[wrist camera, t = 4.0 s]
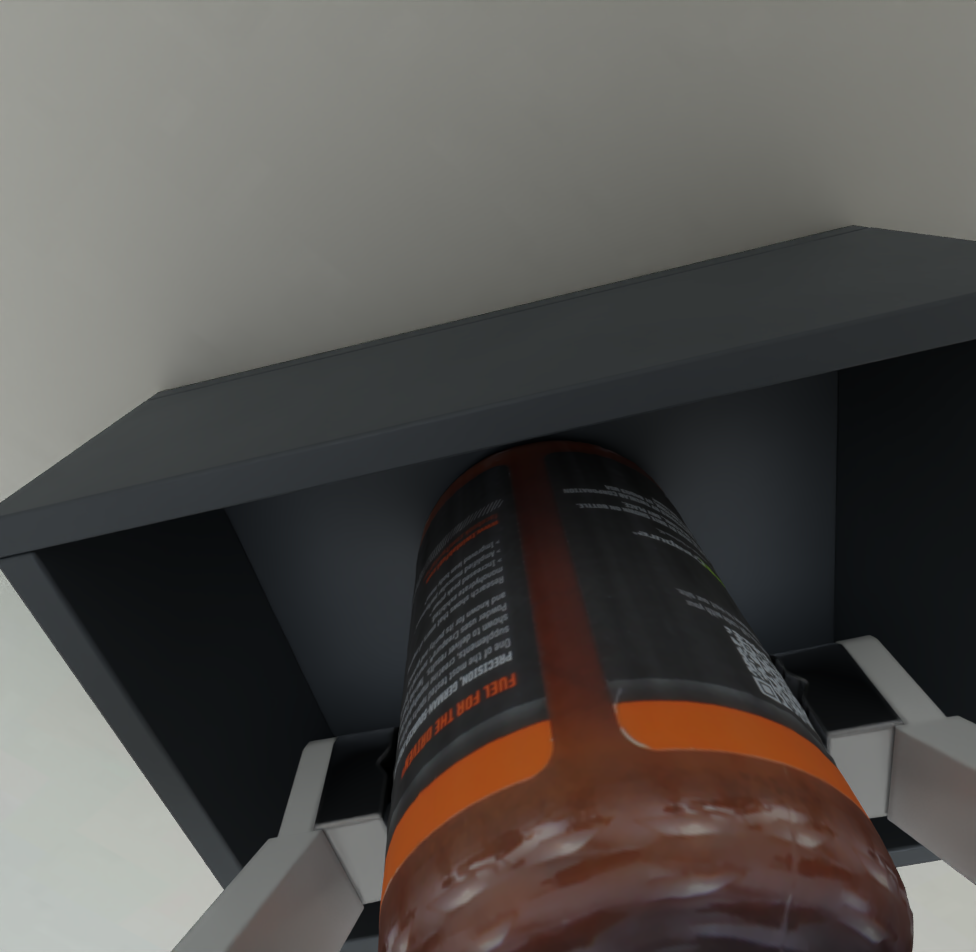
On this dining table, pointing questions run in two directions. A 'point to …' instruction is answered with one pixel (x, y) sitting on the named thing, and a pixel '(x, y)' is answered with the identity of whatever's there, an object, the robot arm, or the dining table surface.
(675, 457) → the bin
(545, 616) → the supplement bottle
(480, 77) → the dining table surface
